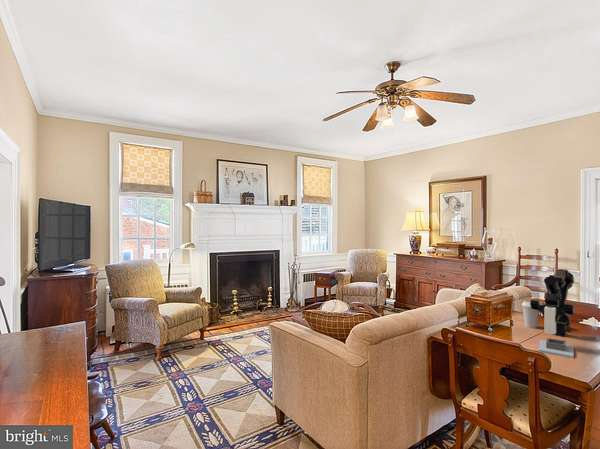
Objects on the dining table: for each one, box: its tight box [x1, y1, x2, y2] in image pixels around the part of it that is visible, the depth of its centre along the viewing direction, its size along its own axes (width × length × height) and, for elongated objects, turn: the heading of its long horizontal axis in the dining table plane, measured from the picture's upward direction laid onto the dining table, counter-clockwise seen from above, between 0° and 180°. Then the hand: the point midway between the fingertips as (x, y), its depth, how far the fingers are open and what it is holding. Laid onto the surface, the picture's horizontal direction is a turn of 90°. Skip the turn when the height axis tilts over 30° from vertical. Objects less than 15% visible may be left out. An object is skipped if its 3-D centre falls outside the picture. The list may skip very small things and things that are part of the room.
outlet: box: [537, 337, 575, 359], centre depth 177 cm, size 18×14×4 cm
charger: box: [543, 307, 556, 335], centre depth 183 cm, size 4×4×13 cm
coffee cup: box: [521, 300, 540, 329], centre depth 216 cm, size 10×10×15 cm
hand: (549, 320), depth 182 cm, fingers closed on charger, 4 cm apart
